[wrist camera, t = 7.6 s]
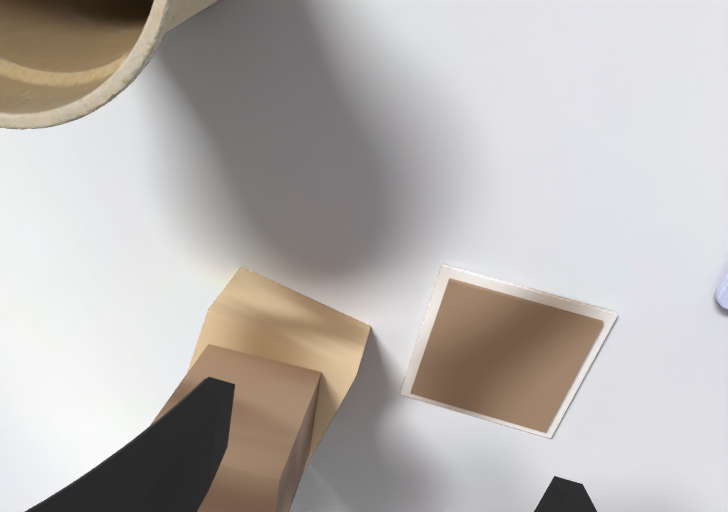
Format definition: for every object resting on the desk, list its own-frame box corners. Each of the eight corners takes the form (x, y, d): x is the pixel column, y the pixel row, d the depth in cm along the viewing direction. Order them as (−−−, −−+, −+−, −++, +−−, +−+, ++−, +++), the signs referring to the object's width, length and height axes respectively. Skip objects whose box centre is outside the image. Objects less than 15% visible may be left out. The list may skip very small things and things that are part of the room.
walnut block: (309, 453, 23) (269, 567, 19) (206, 426, 24) (144, 532, 19) (321, 372, 21) (279, 480, 17) (208, 343, 21) (138, 442, 17)
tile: (616, 312, 21) (619, 318, 21) (549, 435, 25) (551, 442, 24) (442, 264, 22) (441, 269, 21) (400, 391, 25) (399, 397, 25)
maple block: (372, 322, 24) (356, 376, 21) (323, 412, 27) (303, 470, 24) (243, 263, 24) (208, 308, 21) (209, 361, 27) (174, 413, 24)
